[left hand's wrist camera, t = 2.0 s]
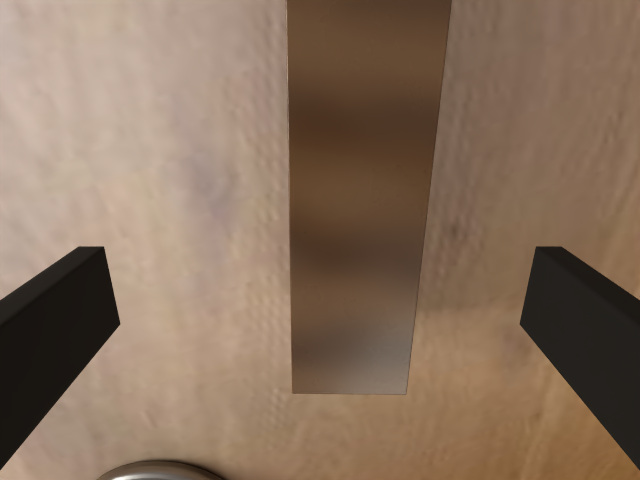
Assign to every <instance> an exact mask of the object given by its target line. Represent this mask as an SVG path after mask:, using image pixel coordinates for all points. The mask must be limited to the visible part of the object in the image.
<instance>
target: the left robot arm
mask: <svg viewBox="0 0 640 480" xmlns="http://www.w3.org/2000/svg"><path fill="white" fill-rule="evenodd" d="M119 325H120V320H119V315H118V311H117V306H116V301H115V297H114V292H113V287H112V282H111V278H110V273H109V268H108V264H107V259H106V254H105V249H104V247H77V248H76V249H74V250H73V251H72V252H70V253H69V254H67V255H66V256H64V257H63V258H61V259H60V260H58V261H57V262H55V263H54V264H53V265H51V266H50V267H48V268H47V269H45V270H44V271H42V272H41V273H39V274H38V275H37V276H35V277H34V278H32V279H31V280H29V281H28V282H26V283H25V284H23V285H22V286H21V287H19V288H18V289H16V290H15V291H13V292H12V293H10V294H9V295H7V296H6V297H4V298H3V299H2V300H0V470H1V469H2V468H3V466H4V465H5V464H6V463H7V462H8V460H9V459H10V458H11V457H12V455H13V454H14V453H15V452H16V451H17V449H18V448H19V447H20V446H21V444H22V443H23V442H24V441H25V440H26V438H27V437H28V436H29V435H30V434H31V432H32V431H33V430H34V429H35V427H36V426H37V425H38V424H39V423H40V421H41V420H42V419H43V418H44V416H45V415H46V414H47V413H48V412H49V410H50V409H51V408H52V407H53V406H54V404H55V403H56V402H57V401H58V399H59V398H60V397H61V396H62V395H63V393H64V392H65V391H66V390H67V388H68V387H69V386H70V385H71V384H72V382H73V381H74V380H75V379H76V378H77V376H78V375H79V374H80V373H81V371H82V370H83V369H84V368H85V367H86V365H87V364H88V363H89V362H90V360H91V359H92V358H93V357H94V356H95V354H96V353H97V352H98V351H99V350H100V348H101V347H102V346H103V345H104V343H105V342H106V341H107V340H108V339H109V337H110V336H111V335H112V334H113V332H114V331H115V330H116V329H117V328H118V326H119ZM520 325H521V326H522V328H523V329H524V330H525V331H526V332H527V334H528V335H529V336H530V337H531V339H532V340H533V341H534V342H535V343H536V345H537V346H538V347H539V348H540V350H541V351H542V352H543V353H544V354H545V356H546V357H547V358H548V359H549V360H550V362H551V363H552V364H553V365H554V367H555V368H556V369H557V370H558V371H559V373H560V374H561V375H562V376H563V378H564V379H565V380H566V381H567V382H568V384H569V385H570V386H571V387H572V388H573V390H574V391H575V392H576V393H577V395H578V396H579V397H580V398H581V399H582V401H583V402H584V403H585V404H586V406H587V407H588V408H589V409H590V410H591V412H592V413H593V414H594V415H595V416H596V418H597V419H598V420H599V421H600V423H601V424H602V425H603V426H604V427H605V429H606V430H607V431H608V432H609V434H610V435H611V436H612V437H613V438H614V440H615V441H616V442H617V443H618V444H619V446H620V447H621V448H622V449H623V451H624V452H625V453H626V454H627V455H628V457H629V458H630V459H631V460H632V462H633V463H634V464H635V465H636V466H637V468H638V469H639V470H640V300H638V299H637V298H636V297H634V296H633V295H631V294H630V293H628V292H627V291H625V290H624V289H622V288H621V287H619V286H618V285H617V284H615V283H614V282H612V281H611V280H609V279H608V278H606V277H605V276H603V275H602V274H601V273H599V272H598V271H596V270H595V269H593V268H592V267H590V266H589V265H587V264H586V263H585V262H583V261H582V260H580V259H579V258H577V257H576V256H574V255H573V254H571V253H570V252H568V251H567V250H566V249H564V248H563V247H536V249H535V254H534V259H533V264H532V268H531V273H530V278H529V282H528V287H527V292H526V297H525V301H524V306H523V311H522V315H521V320H520ZM97 480H223V479H221V478H219V477H218V476H216V475H214V474H212V473H210V472H207V471H205V470H202V469H200V468H197V467H193V466H190V465H186V464H181V463H175V462H166V461H146V462H138V463H132V464H128V465H124V466H121V467H118V468H116V469H113V470H111V471H109V472H107V473H106V474H104V475H102V476H101V477H100V478H98V479H97Z"/></svg>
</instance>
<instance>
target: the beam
mask: <svg viewBox="0 0 640 480" xmlns="http://www.w3.org/2000/svg"><path fill="white" fill-rule="evenodd" d="M451 2H452V0H286V49H287V110H288V170H289V231H290V291H291V352H292V393H293V394H384V395H406V393H407V384H408V375H409V367H410V358H411V349H412V341H413V332H414V323H415V315H416V306H417V297H418V288H419V280H420V271H421V262H422V254H423V245H424V236H425V228H426V219H427V210H428V202H429V193H430V184H431V176H432V167H433V158H434V150H435V141H436V132H437V124H438V115H439V106H440V98H441V89H442V80H443V72H444V63H445V54H446V46H447V37H448V28H449V20H450V11H451Z"/></svg>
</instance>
